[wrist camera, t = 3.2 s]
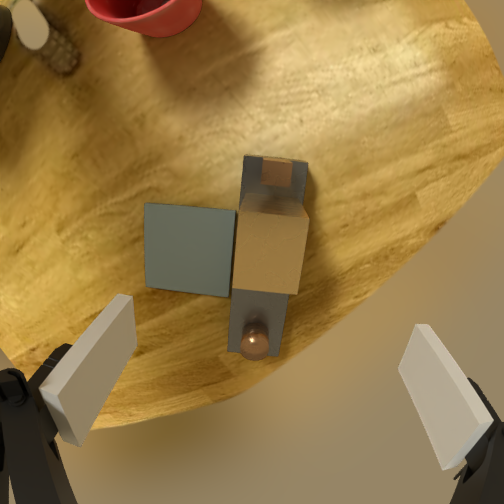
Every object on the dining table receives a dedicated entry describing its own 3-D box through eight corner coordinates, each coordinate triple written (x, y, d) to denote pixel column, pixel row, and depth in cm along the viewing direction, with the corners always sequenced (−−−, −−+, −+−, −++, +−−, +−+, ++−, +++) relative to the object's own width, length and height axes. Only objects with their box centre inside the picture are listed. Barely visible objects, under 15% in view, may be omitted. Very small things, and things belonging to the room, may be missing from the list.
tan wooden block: (290, 257, 32) (297, 294, 24) (240, 252, 32) (232, 288, 24) (298, 198, 30) (309, 218, 22) (245, 192, 30) (238, 210, 22)
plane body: (277, 341, 39) (279, 378, 32) (229, 337, 39) (223, 373, 32) (304, 160, 31) (314, 166, 25) (245, 154, 31) (240, 157, 25)
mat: (147, 284, 37) (145, 286, 36) (146, 202, 33) (144, 203, 33) (229, 294, 37) (228, 297, 36) (235, 210, 33) (235, 211, 33)
